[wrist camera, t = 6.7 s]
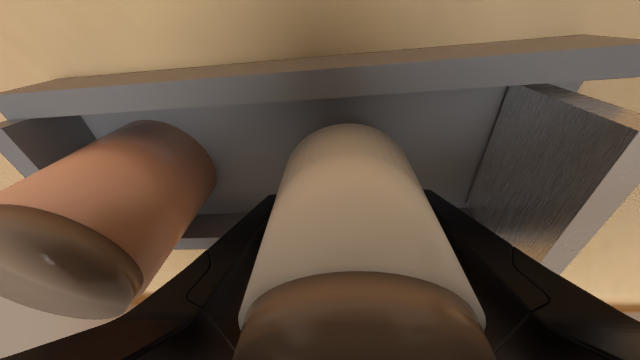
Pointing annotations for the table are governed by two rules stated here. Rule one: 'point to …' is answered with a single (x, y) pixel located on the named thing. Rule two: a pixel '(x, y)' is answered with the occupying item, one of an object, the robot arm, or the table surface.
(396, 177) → the cream jar
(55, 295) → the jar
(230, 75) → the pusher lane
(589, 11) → the table surface
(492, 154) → the plate
